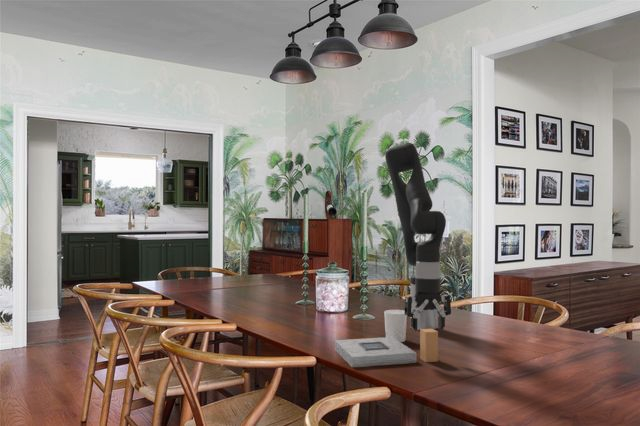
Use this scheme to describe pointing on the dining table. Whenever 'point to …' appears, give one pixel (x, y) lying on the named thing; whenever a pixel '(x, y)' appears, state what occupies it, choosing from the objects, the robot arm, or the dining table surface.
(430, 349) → the tan wooden block
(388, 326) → the white cup
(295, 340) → the dining table surface
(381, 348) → the slab with square hole
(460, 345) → the dining table surface
